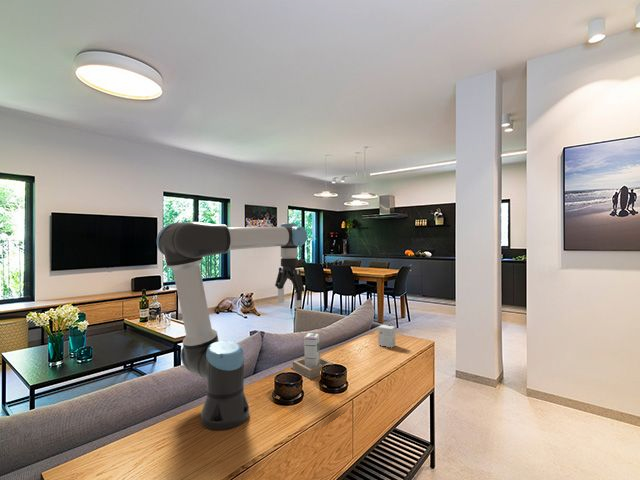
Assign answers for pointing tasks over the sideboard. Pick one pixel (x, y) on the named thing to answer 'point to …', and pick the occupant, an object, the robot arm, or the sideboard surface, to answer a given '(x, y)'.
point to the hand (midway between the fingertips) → (289, 305)
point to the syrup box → (312, 350)
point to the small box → (386, 336)
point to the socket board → (310, 373)
